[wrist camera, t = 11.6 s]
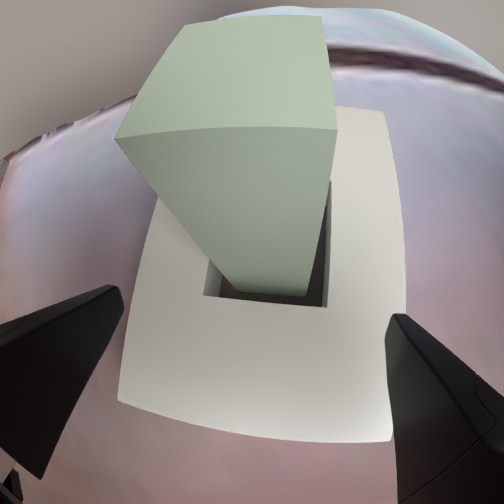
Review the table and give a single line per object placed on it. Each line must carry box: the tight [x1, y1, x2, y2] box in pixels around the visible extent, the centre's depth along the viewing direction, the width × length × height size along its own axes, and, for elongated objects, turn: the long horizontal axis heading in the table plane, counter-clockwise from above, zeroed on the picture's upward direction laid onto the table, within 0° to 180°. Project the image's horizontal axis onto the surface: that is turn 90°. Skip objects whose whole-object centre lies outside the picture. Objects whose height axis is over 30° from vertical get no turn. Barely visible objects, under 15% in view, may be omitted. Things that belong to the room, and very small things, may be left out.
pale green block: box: [114, 15, 338, 297], centre depth 11 cm, size 5×4×13 cm
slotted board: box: [117, 106, 406, 443], centre depth 16 cm, size 20×14×3 cm
